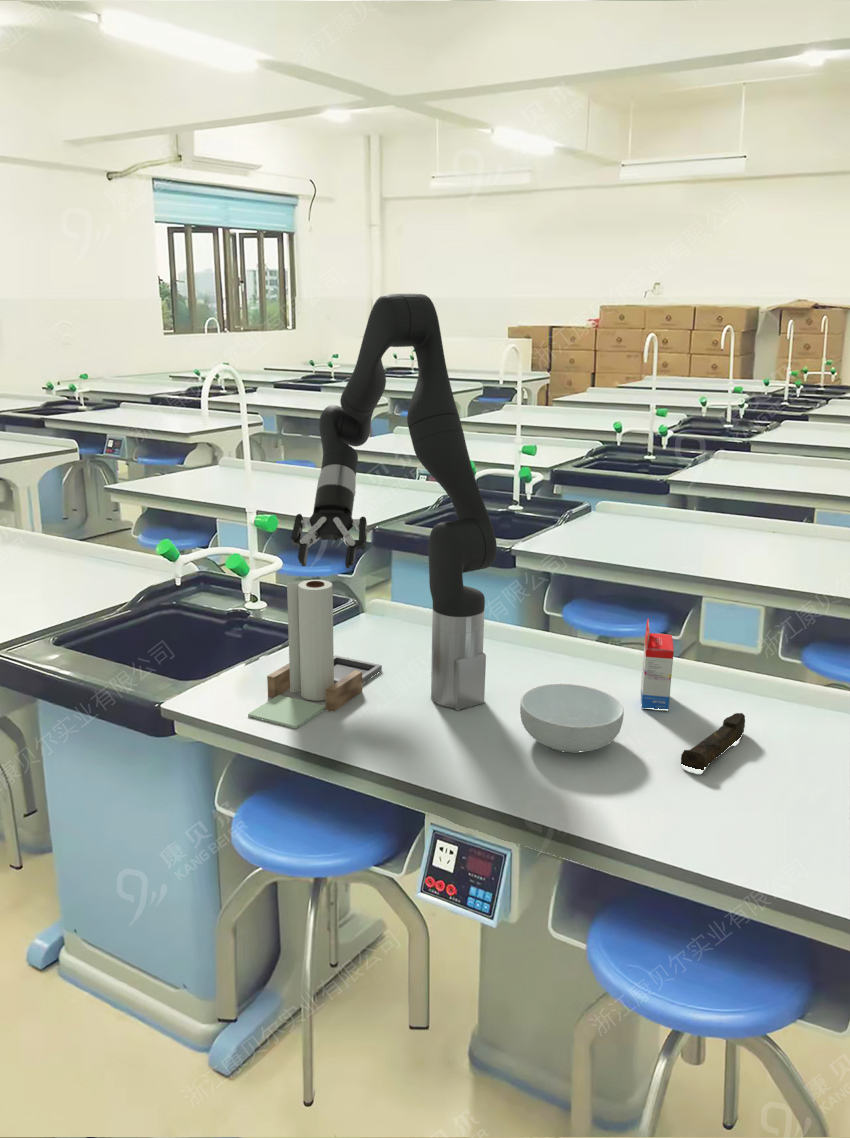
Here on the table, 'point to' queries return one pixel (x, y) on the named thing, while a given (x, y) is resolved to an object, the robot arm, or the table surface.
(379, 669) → the gray square tray
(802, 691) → the table surface
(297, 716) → the sage pad
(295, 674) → the paper towel roll
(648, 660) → the ink box
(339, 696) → the walnut guide channel
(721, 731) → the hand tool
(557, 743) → the cereal bowl
